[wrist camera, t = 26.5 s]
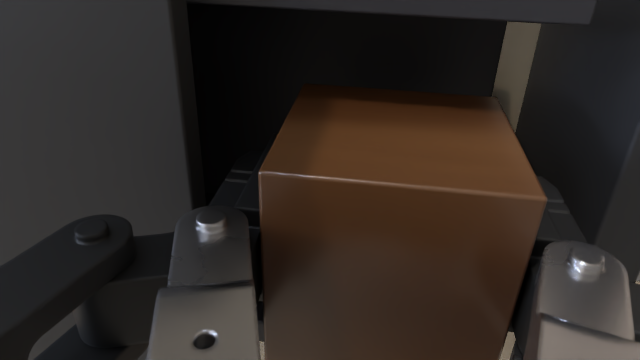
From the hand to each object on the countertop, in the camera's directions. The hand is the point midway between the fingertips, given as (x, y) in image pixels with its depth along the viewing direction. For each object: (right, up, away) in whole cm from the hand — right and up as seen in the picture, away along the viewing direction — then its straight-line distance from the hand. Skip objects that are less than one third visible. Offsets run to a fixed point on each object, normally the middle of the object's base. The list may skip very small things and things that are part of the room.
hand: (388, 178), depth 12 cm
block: (0, 0, 0) cm, 0 cm away
